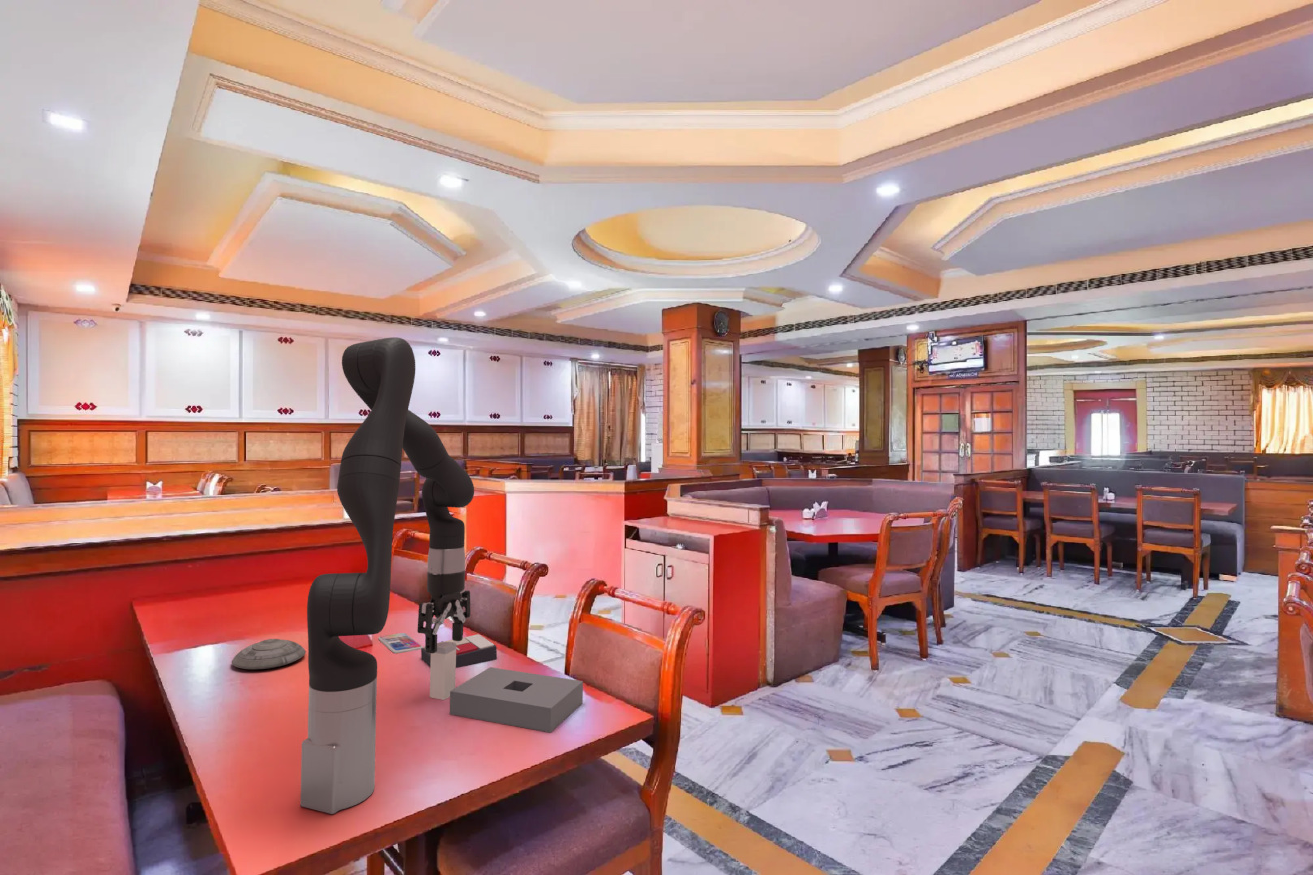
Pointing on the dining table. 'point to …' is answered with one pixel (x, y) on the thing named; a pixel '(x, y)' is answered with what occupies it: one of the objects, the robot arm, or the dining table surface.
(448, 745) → the dining table surface
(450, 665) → the pale square peg
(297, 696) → the dining table surface
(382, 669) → the dining table surface
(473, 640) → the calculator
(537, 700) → the header
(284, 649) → the flying saucer
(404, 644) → the smartphone
